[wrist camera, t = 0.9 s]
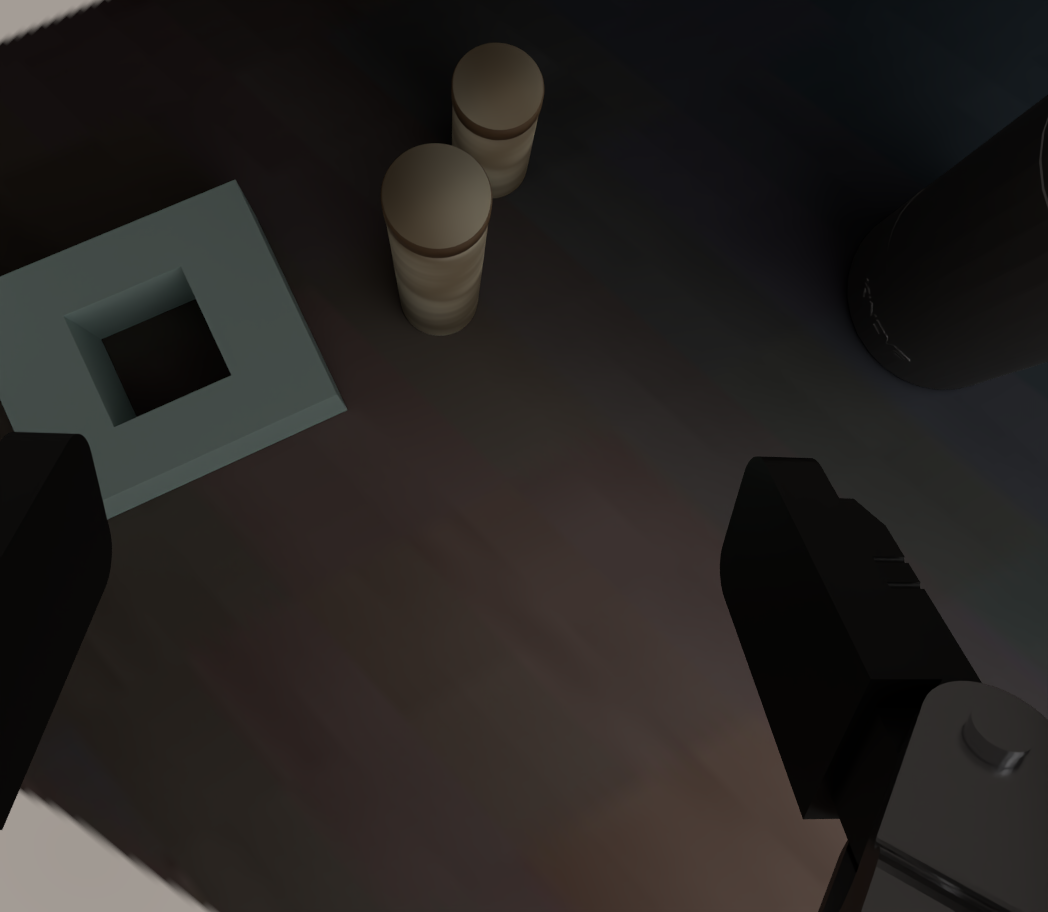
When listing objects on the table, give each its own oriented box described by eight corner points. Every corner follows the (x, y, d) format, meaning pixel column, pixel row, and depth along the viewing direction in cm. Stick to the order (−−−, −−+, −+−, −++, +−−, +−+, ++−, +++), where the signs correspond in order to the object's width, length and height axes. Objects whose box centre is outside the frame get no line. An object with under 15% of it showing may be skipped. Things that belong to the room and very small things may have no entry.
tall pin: (458, 246, 42) (463, 125, 30) (492, 317, 42) (511, 222, 30) (385, 278, 41) (361, 167, 29) (420, 349, 41) (409, 266, 29)
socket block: (255, 215, 41) (235, 179, 37) (347, 409, 40) (336, 394, 37) (2, 321, 40) (-47, 295, 36) (94, 525, 39) (55, 522, 35)
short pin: (507, 113, 43) (519, 27, 36) (541, 181, 42) (560, 108, 36) (437, 142, 42) (436, 62, 35) (471, 211, 42) (476, 144, 35)
